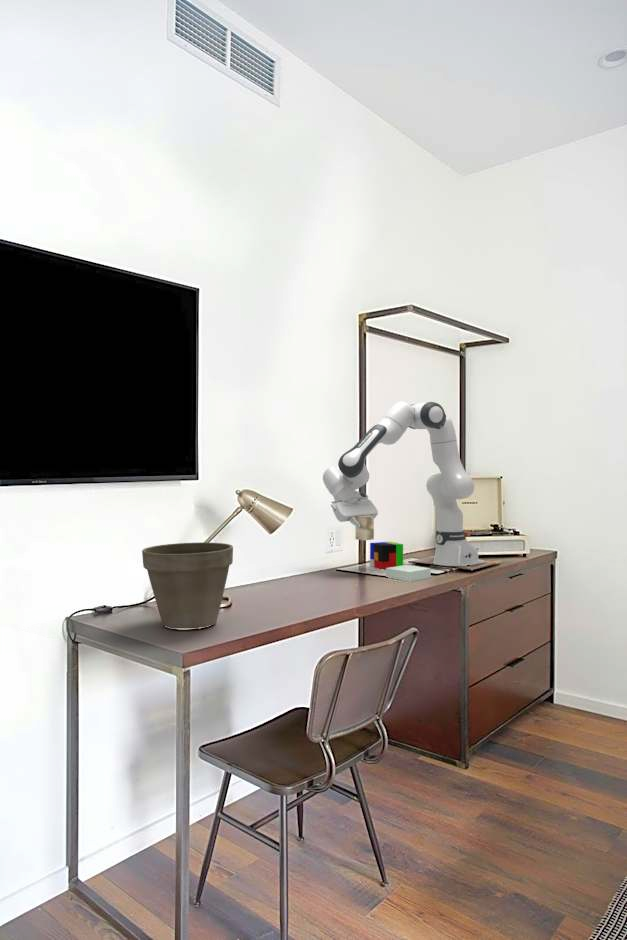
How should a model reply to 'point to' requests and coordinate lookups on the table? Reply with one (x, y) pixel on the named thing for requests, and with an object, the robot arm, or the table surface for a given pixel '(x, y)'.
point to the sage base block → (408, 573)
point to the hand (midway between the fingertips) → (365, 526)
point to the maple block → (365, 528)
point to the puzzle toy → (386, 555)
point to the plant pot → (188, 581)
